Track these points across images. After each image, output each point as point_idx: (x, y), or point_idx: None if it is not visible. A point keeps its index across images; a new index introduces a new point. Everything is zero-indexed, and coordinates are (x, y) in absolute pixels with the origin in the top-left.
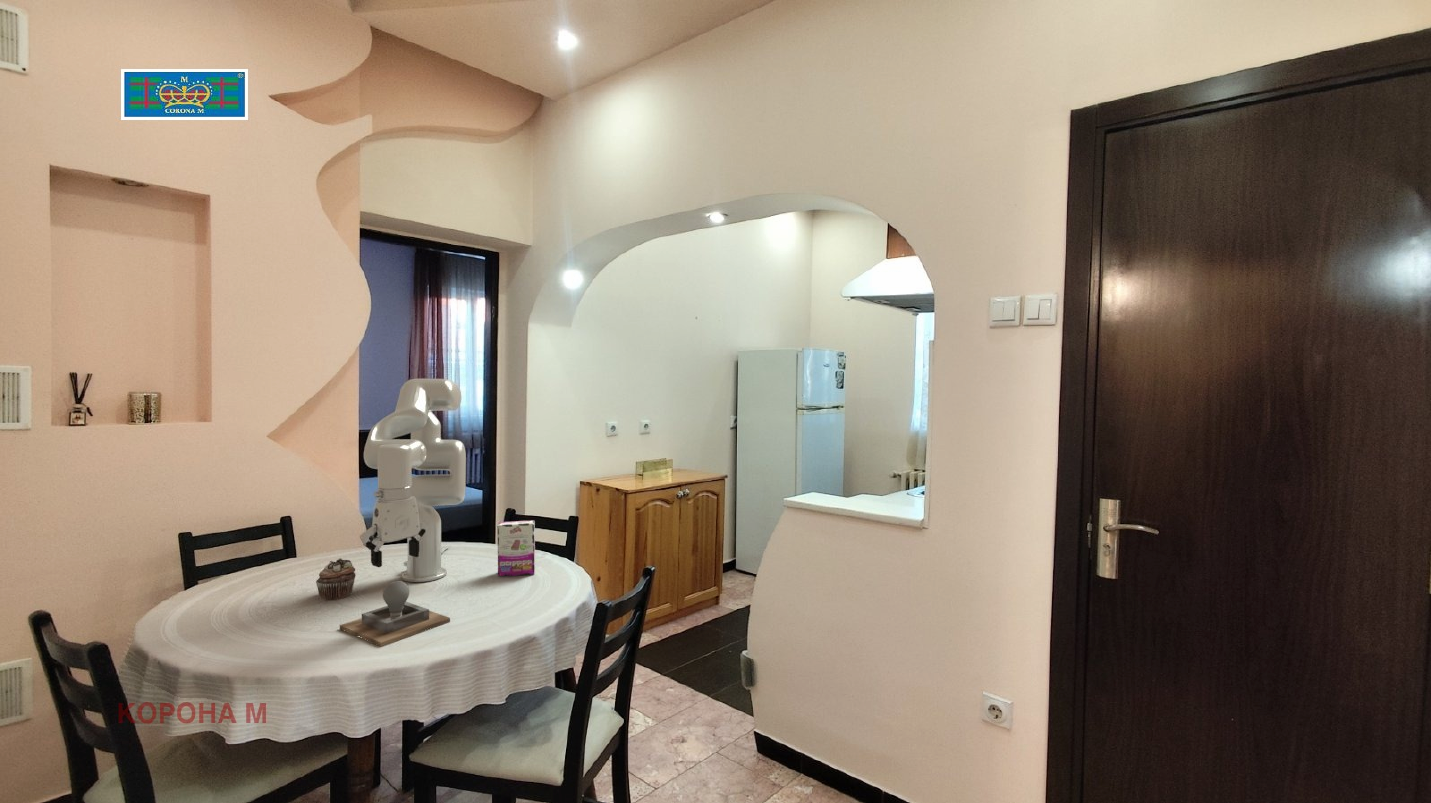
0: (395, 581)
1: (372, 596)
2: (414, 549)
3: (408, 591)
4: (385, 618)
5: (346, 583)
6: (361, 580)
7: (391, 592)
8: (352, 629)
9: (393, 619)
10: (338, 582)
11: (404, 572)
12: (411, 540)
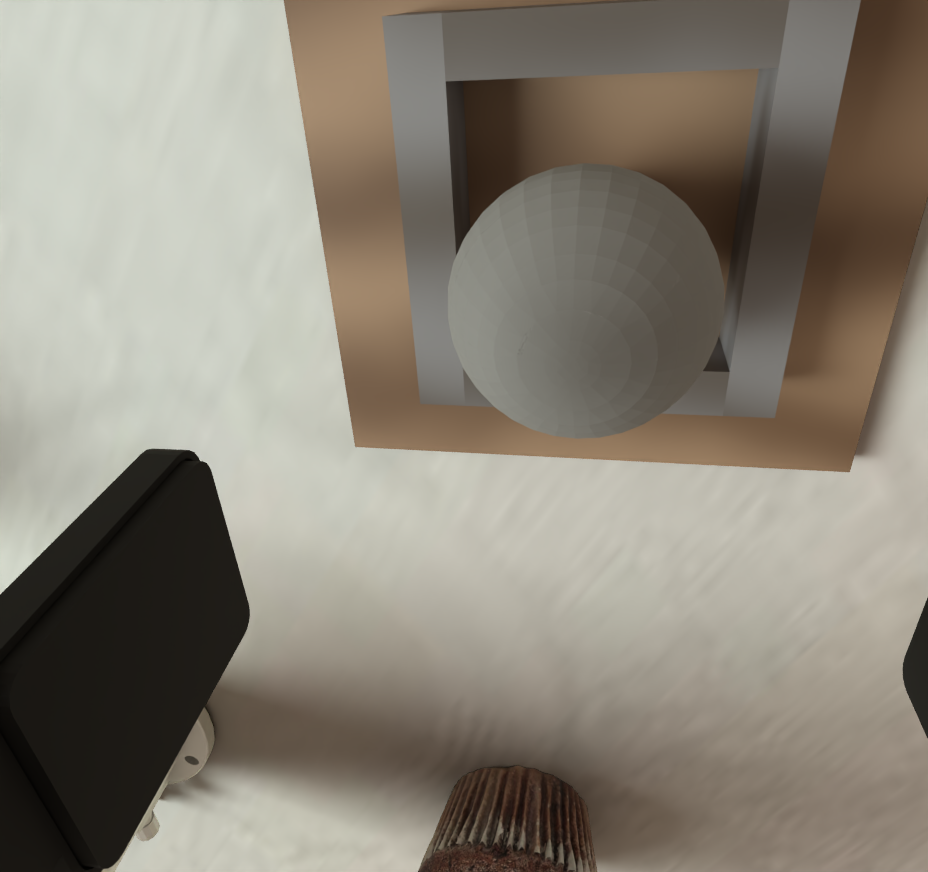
0: (577, 377)
1: (417, 691)
2: (139, 588)
3: (499, 201)
4: None
5: (499, 832)
6: (352, 843)
7: (700, 250)
8: (875, 335)
9: (744, 54)
10: (538, 857)
11: (182, 779)
12: (55, 849)
